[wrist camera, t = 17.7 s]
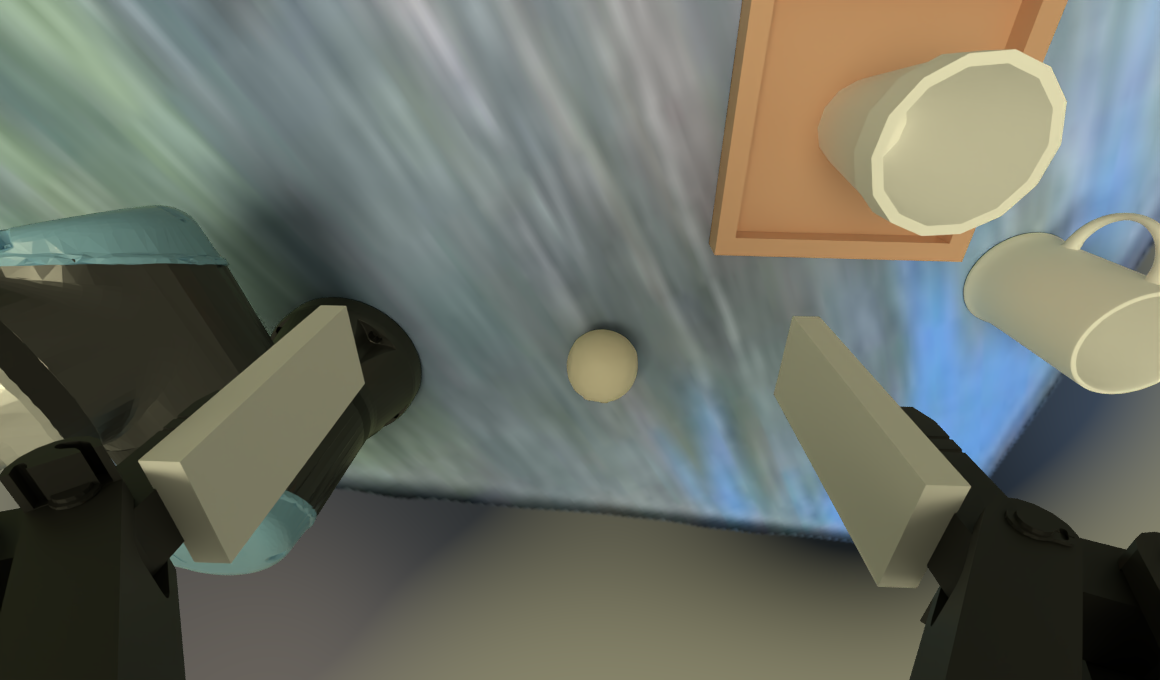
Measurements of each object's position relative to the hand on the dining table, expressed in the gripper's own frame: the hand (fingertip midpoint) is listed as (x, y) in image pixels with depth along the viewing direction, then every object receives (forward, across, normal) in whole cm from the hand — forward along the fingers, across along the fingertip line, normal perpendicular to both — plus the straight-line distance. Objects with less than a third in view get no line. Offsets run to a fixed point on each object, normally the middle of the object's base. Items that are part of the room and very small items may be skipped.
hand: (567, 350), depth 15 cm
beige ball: (+31, -2, +18) cm, 36 cm away
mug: (+30, -39, +7) cm, 49 cm away
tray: (+30, -21, -4) cm, 37 cm away
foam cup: (+29, -21, -4) cm, 36 cm away
